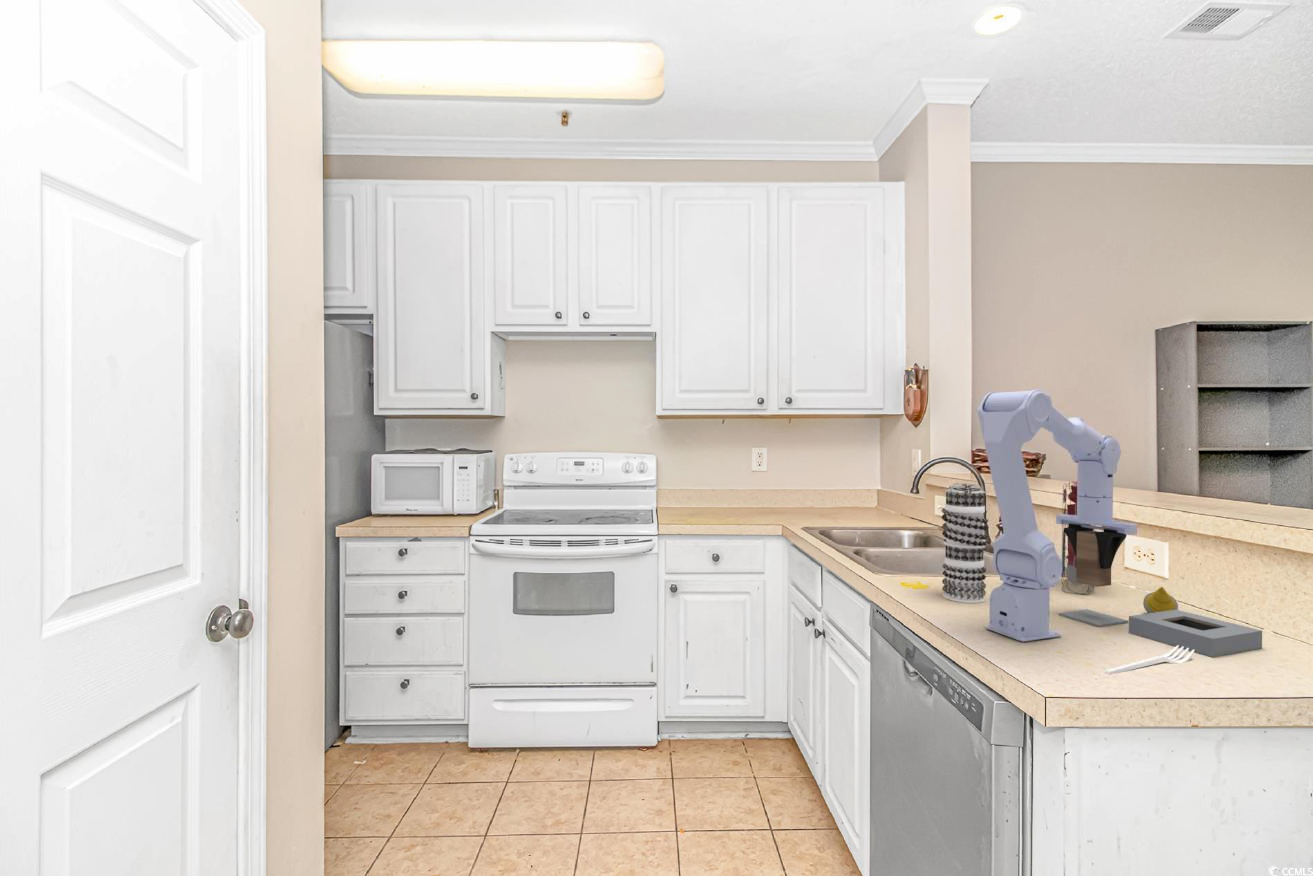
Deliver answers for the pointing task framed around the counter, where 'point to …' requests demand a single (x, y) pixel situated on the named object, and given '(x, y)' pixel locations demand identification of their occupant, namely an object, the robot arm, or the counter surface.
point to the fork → (1154, 661)
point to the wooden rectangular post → (1090, 561)
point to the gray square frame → (1196, 632)
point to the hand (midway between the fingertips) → (1093, 565)
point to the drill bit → (1159, 601)
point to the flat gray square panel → (1093, 618)
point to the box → (1071, 555)
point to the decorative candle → (964, 543)
